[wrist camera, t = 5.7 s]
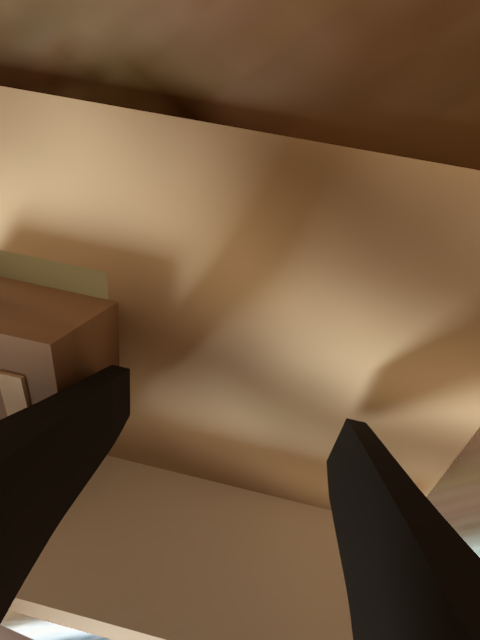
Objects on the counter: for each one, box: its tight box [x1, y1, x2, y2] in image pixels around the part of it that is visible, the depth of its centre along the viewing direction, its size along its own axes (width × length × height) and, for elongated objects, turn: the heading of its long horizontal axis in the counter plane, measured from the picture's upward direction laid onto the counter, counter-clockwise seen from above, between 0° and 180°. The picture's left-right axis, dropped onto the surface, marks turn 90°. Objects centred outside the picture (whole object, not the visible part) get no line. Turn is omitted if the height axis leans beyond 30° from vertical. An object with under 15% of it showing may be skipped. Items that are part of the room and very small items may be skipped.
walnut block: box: [0, 277, 120, 420], centre depth 9 cm, size 5×5×3 cm
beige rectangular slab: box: [8, 455, 353, 640], centre depth 11 cm, size 1×16×5 cm, turn 80°
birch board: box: [0, 86, 480, 510], centre depth 10 cm, size 15×21×1 cm
